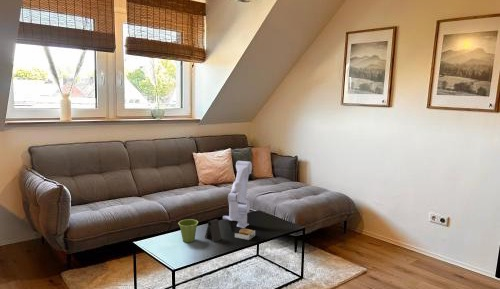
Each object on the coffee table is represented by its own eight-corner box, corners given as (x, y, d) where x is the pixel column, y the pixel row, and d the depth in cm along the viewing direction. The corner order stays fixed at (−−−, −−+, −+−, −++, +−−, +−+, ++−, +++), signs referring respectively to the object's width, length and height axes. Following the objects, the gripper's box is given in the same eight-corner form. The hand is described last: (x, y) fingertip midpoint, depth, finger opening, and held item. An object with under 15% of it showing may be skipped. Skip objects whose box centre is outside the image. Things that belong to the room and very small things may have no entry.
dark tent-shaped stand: (221, 239, 224) (221, 220, 222) (214, 242, 219) (214, 223, 218) (212, 235, 230) (212, 217, 228) (204, 238, 226) (204, 219, 224)
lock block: (238, 236, 229) (239, 230, 229) (242, 234, 234) (242, 228, 233) (249, 238, 226) (249, 232, 226) (252, 236, 231) (252, 230, 230)
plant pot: (190, 235, 230) (190, 217, 228) (202, 240, 222) (202, 222, 220) (174, 240, 222) (174, 222, 220) (185, 245, 213) (185, 227, 212)
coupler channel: (234, 237, 228) (234, 232, 228) (241, 232, 236) (241, 228, 236) (249, 240, 224) (249, 235, 223) (255, 235, 232) (255, 230, 231)
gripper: (220, 211, 231) (220, 231, 233) (241, 214, 225) (240, 235, 227) (225, 208, 237) (225, 228, 239) (246, 211, 231) (245, 232, 233)
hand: (233, 231), depth 233 cm, fingers closed
